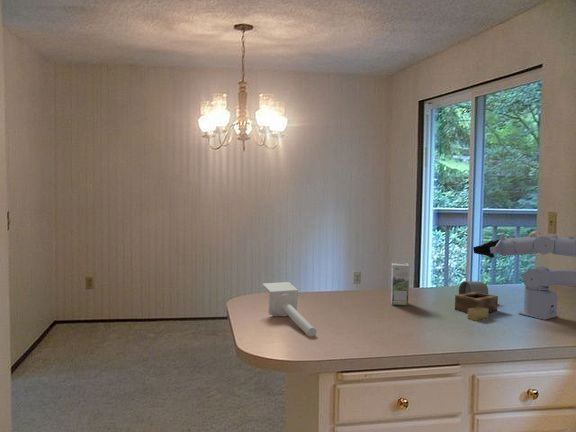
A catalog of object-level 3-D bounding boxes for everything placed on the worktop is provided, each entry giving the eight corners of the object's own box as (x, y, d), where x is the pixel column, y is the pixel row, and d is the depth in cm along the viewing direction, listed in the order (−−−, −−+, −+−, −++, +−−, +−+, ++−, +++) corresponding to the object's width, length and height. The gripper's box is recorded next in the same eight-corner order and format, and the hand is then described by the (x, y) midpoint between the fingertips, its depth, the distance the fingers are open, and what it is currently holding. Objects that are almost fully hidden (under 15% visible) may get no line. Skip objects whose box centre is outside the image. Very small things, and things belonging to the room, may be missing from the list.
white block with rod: (288, 282, 185) (328, 316, 156) (287, 306, 187) (325, 345, 157) (262, 283, 182) (297, 319, 152) (261, 308, 183) (295, 348, 154)
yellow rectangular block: (478, 316, 180) (479, 306, 180) (488, 318, 177) (488, 308, 177) (467, 319, 176) (467, 308, 176) (477, 321, 174) (477, 310, 173)
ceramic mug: (489, 302, 199) (490, 281, 199) (471, 304, 196) (471, 283, 196) (470, 297, 209) (470, 277, 209) (452, 298, 206) (452, 278, 206)
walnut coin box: (474, 305, 195) (474, 291, 194) (497, 310, 187) (497, 296, 187) (454, 309, 188) (455, 295, 188) (477, 315, 181) (478, 300, 181)
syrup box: (406, 302, 198) (407, 262, 197) (408, 306, 193) (409, 264, 192) (390, 301, 199) (391, 261, 198) (391, 305, 193) (392, 264, 192)
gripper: (523, 231, 190) (486, 234, 200) (507, 237, 180) (468, 240, 189) (526, 252, 190) (488, 254, 200) (510, 258, 180) (470, 260, 189)
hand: (478, 248), depth 195 cm, fingers open, 7 cm apart
